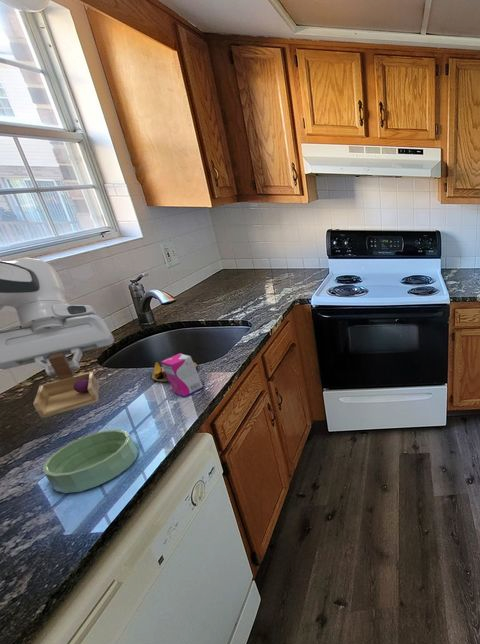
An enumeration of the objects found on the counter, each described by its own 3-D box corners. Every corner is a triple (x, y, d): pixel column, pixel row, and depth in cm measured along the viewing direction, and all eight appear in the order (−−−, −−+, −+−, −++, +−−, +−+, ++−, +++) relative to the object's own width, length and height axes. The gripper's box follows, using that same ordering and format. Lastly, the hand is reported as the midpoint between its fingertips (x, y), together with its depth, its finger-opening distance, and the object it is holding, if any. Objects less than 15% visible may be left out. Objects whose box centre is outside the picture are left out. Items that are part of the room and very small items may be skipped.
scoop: (48, 394, 85) (28, 360, 81) (99, 380, 90) (82, 347, 86) (41, 418, 76) (19, 382, 73) (98, 401, 82) (79, 366, 78)
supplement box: (192, 384, 116) (180, 352, 111) (204, 388, 114) (191, 356, 109) (173, 393, 112) (159, 360, 107) (185, 398, 109) (171, 364, 104)
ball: (70, 380, 83) (77, 380, 82) (87, 378, 86) (94, 379, 85) (70, 393, 83) (78, 393, 82) (87, 391, 86) (95, 391, 85)
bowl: (44, 505, 75) (30, 486, 72) (67, 461, 86) (56, 443, 84) (132, 477, 81) (122, 458, 79) (143, 439, 92) (134, 422, 90)
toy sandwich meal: (197, 360, 131) (192, 349, 129) (198, 376, 121) (194, 364, 119) (154, 371, 124) (148, 359, 122) (152, 389, 114) (146, 376, 112)
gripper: (-26, 326, 78) (-11, 383, 76) (99, 304, 90) (116, 352, 88) (-10, 339, 83) (5, 392, 81) (107, 315, 95) (123, 361, 93)
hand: (64, 371), depth 84 cm, fingers closed on scoop, 2 cm apart
